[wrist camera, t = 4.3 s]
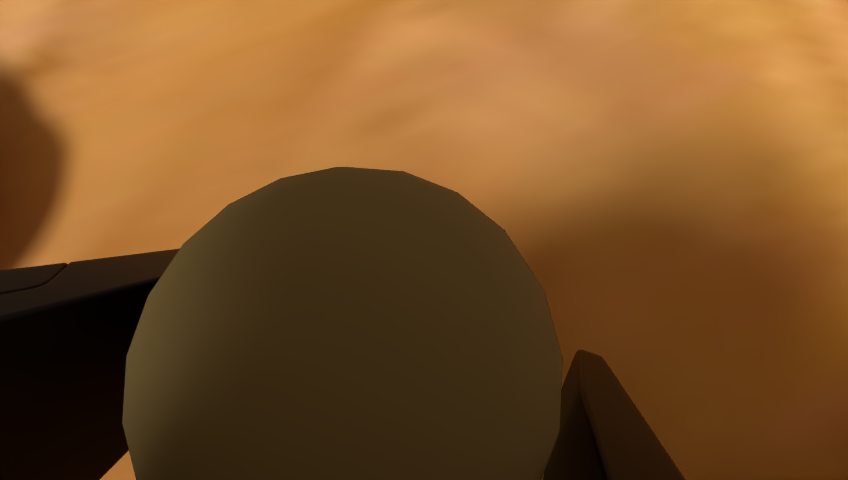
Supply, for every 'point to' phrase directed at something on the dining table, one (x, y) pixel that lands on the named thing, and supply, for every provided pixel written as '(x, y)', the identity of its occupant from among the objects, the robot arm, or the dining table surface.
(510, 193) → the dining table surface
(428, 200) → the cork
